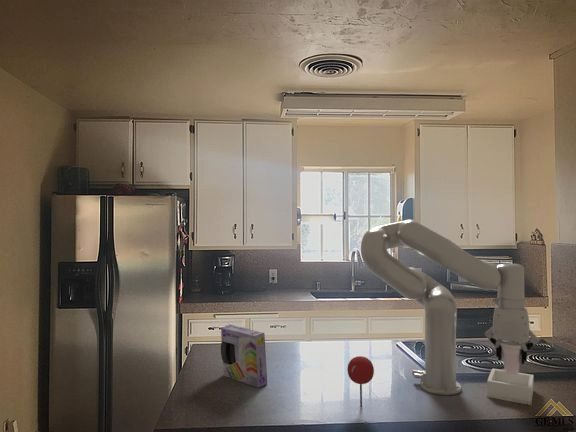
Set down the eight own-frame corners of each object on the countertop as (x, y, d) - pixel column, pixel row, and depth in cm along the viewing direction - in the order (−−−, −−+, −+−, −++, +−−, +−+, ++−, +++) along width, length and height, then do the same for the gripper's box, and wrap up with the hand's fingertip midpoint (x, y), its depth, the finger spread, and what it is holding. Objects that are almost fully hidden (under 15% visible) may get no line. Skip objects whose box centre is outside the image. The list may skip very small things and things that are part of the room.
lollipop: (347, 401, 138) (347, 352, 137) (373, 402, 137) (372, 353, 136) (348, 413, 130) (347, 361, 130) (375, 414, 129) (374, 362, 129)
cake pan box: (220, 375, 160) (219, 325, 160) (231, 371, 164) (230, 322, 163) (257, 389, 147) (256, 335, 147) (268, 385, 151) (267, 332, 150)
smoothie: (525, 377, 138) (525, 332, 137) (503, 376, 139) (502, 331, 139) (519, 370, 144) (519, 326, 144) (497, 369, 145) (497, 325, 145)
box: (487, 396, 140) (487, 380, 140) (492, 383, 150) (492, 368, 150) (531, 405, 133) (531, 388, 133) (533, 390, 144) (533, 375, 144)
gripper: (479, 303, 142) (479, 360, 143) (542, 308, 133) (542, 369, 134) (482, 298, 149) (483, 353, 149) (543, 303, 140) (543, 361, 140)
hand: (511, 360), depth 141 cm, fingers closed on smoothie, 5 cm apart
